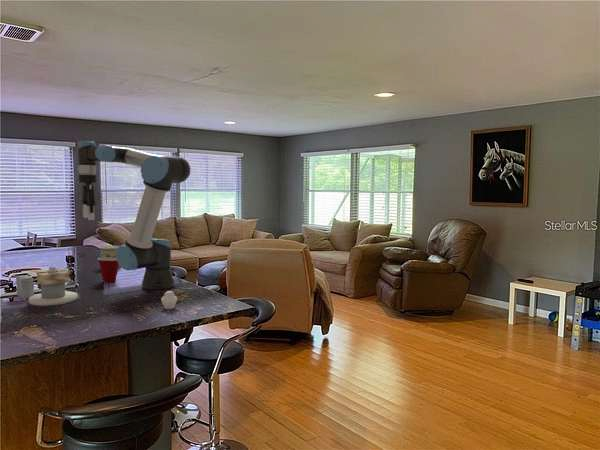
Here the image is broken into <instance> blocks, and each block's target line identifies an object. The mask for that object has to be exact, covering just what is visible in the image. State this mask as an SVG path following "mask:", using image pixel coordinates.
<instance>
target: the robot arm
mask: <svg viewBox="0 0 600 450" xmlns="http://www.w3.org/2000/svg"><path fill="white" fill-rule="evenodd" d="M77 143H78V144H77V157H78V159H77V160H78V166H77V168H76V169H77V170H78V173H79V175H78V182H79V183H83V184H82V197H81V203H82V215H83V216H82V217H83V218H84V219H85V218H87V220H88V221H95V219H96V218H95V215H96V214H95V205H96V201H95V200H96V199H95V190H94V184H95V183H97V175H96V174H97V162H98V163H100V162H102V163H119V164H126V165H130V166H133V167H137V168H140V175H141V178H142V180H143V184H144V186H145V187H144V190H143V193H142V198H141V199H140V200H141V201H140V204H139V208H138V210H137V214H136V217H135V221H134V223H133V226H132V230H131V233H130V235H128V236H126V238H125V241H124V244H121V245H118V246H119V247H118V248H117V251H116V258H117V261H118V264H119V265H120V266H121V267H122V268H121V269H123V270H125V271H136V270H139V269H145V271H144V274H143V279H142V280H141V288H142V289H145V290H166V289H167V290H168V289H171V288H173V287H175V286H176V284H175V283H176V282H175V279H174V276H173V272H172V267H171V266H172V245H171V241H170V240H169V239H167V238H153V234H154V231H155V228H156V225H157V221H158V219H159V218H158V217H159V215H160V212H161V209H162V206H163V202H164V198H165V196H166V193H169V192H170V191H171V190H172V186H173V184H181V183H183V182H185V181H186V180H188V178H189V177H190V176H191V165H190V164H189V162H188V161H187V160H186V159H185V158H183V157H180V156H172V155H171V156H170V155H162V154H154V153H149V152H145V151H140V150H138V149H134V148H131V147H124V146H123V147H121V146H112V145H109V144H108V145H107V144H100V145H96V143H95V141H88V140H86V141H85V140H81V141H78V142H77ZM93 183H94V184H93Z"/></svg>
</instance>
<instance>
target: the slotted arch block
mask: <svg viewBox="0 0 600 450" xmlns="http://www.w3.org/2000/svg"><path fill="white" fill-rule="evenodd" d="M70 275H71V273H70V272H69V270H68V268H66V267H64V268H56V272H52V273H49V269H40V270H36V281H37V283H38V285H39V286H41V285H47V284H57V283H65V284H66V283H67V284H68V283H70V282H71V276H70Z"/></svg>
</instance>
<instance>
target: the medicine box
mask: <svg viewBox="0 0 600 450" xmlns="http://www.w3.org/2000/svg"><path fill="white" fill-rule="evenodd" d="M15 279H16V283H15V284H16V296H17V297H19V298H21V299H22V300H26V299H27V300H28V299H29V297H31V296H33V295H35V293H34V291H35V290H34V289H35V288H34V278H33V277H32V276H30V275H28V274H26V275H19V276H18V275H17V276H16V278H15Z"/></svg>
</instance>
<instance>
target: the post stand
mask: <svg viewBox="0 0 600 450" xmlns="http://www.w3.org/2000/svg"><path fill="white" fill-rule="evenodd" d="M48 268H49V269H48V270H49V273H52V272H56V269H57V267H56V266H55V265H54V266H49V267H48ZM77 299H78V292H75V291H68V290H66V283H57V284H47V285H40V293H38V294H34V295H33V296H31V297H29V298H28V299H27V301H28V304H29V305H32V306H39V307H43V306H44V307H45V306H46V307H47V306H48V307H49V306H56V305H57V306H59V305H63V304H69V303H72V302H74V301H76V300H77Z"/></svg>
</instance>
